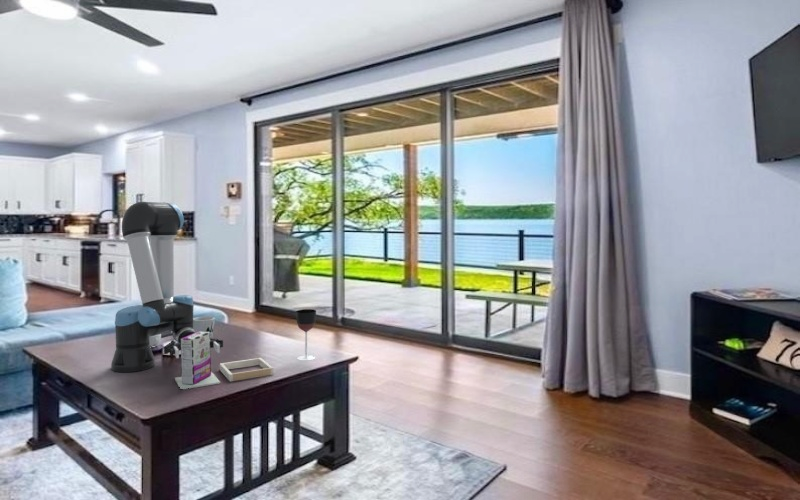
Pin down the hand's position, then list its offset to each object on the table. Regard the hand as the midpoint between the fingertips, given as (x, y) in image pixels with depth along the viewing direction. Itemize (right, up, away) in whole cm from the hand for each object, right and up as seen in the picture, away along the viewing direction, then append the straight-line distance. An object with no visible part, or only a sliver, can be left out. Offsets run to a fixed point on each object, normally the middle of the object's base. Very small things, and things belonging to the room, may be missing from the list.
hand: (198, 351), depth 176 cm
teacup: (-41, -8, +51) cm, 66 cm away
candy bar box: (-2, -11, +3) cm, 12 cm away
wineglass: (+31, -10, +35) cm, 48 cm away
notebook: (-52, -8, +67) cm, 86 cm away
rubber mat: (-2, -11, +3) cm, 12 cm away
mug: (-27, -7, +67) cm, 72 cm away
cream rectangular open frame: (+12, -11, +15) cm, 22 cm away
